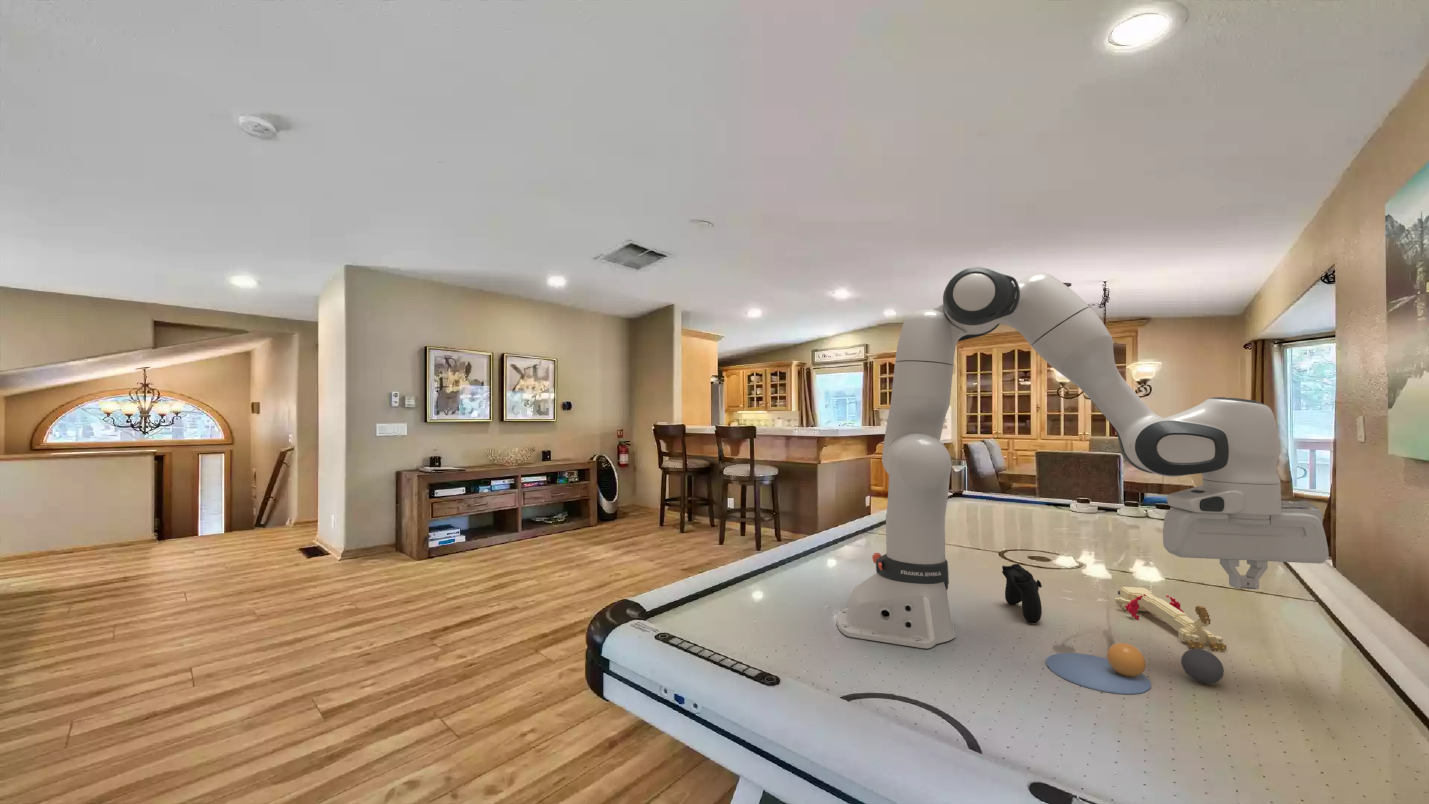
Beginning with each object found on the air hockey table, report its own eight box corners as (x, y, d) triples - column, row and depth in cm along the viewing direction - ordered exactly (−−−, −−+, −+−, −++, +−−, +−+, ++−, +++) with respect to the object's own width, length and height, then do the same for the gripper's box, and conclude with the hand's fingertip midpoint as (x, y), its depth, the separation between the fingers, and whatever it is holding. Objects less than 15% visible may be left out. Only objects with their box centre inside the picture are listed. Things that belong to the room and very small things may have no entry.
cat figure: (1239, 661, 95) (1150, 602, 120) (1240, 613, 95) (1151, 564, 119) (1176, 656, 97) (1101, 600, 122) (1177, 609, 97) (1102, 562, 121)
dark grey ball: (1229, 655, 82) (1235, 689, 81) (1206, 642, 87) (1211, 674, 86) (1191, 657, 83) (1197, 690, 82) (1171, 644, 88) (1176, 675, 87)
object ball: (1160, 671, 84) (1131, 688, 84) (1142, 658, 89) (1115, 674, 89) (1137, 644, 84) (1109, 661, 85) (1120, 632, 89) (1094, 648, 90)
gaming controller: (1053, 627, 107) (1051, 577, 107) (1020, 625, 108) (1019, 575, 108) (1026, 604, 121) (1025, 559, 121) (997, 602, 122) (997, 558, 122)
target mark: (1067, 689, 82) (1067, 687, 82) (1033, 650, 96) (1033, 649, 96) (1172, 698, 79) (1172, 697, 79) (1121, 658, 93) (1121, 656, 93)
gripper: (1302, 498, 85) (1306, 586, 85) (1155, 495, 89) (1158, 578, 89) (1339, 504, 79) (1343, 599, 79) (1180, 500, 83) (1182, 590, 83)
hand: (1244, 588), depth 84 cm, fingers closed
